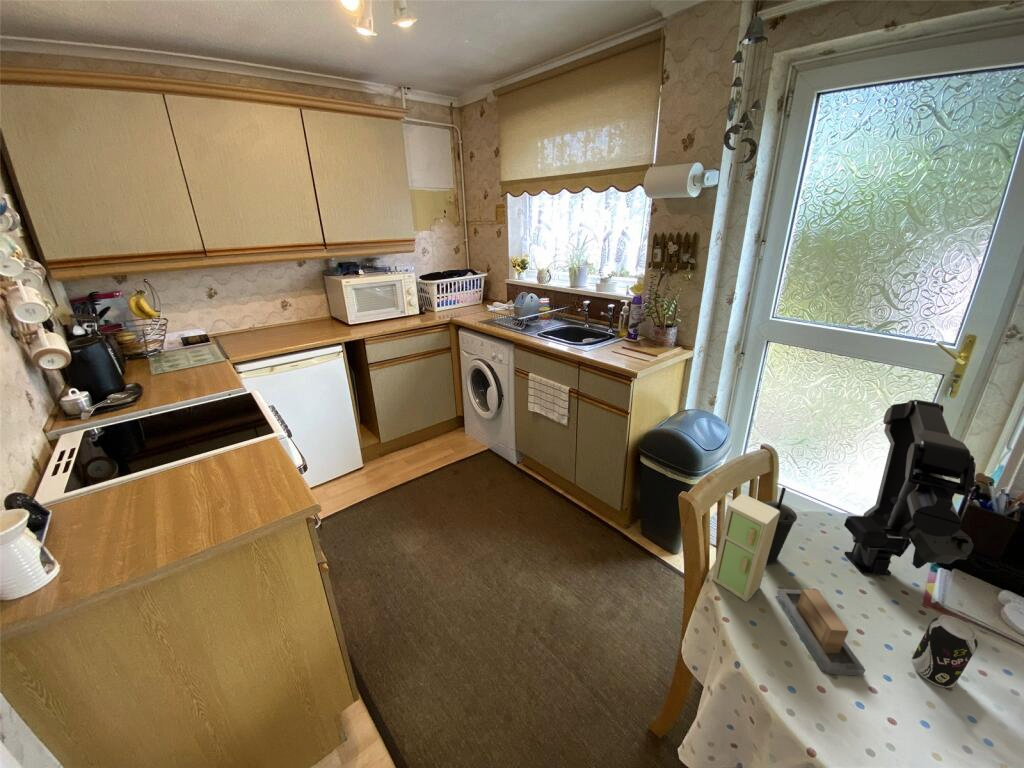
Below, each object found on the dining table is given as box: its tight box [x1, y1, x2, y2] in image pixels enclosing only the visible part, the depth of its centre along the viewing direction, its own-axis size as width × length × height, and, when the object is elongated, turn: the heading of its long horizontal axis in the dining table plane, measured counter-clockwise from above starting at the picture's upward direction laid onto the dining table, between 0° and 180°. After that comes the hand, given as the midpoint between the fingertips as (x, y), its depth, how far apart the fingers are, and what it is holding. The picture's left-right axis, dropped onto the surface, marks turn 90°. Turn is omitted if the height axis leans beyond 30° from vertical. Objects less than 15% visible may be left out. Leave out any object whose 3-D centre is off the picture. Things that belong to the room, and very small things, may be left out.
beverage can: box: [911, 614, 979, 689], centre depth 72 cm, size 6×6×12 cm
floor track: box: [775, 588, 866, 677], centre depth 81 cm, size 17×7×2 cm, turn 176°
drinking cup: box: [761, 486, 798, 565], centre depth 96 cm, size 8×8×20 cm
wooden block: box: [796, 588, 849, 653], centre depth 80 cm, size 9×3×6 cm, turn 176°
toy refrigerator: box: [711, 493, 780, 602], centre depth 89 cm, size 8×7×21 cm
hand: (890, 565), depth 82 cm, fingers open, 9 cm apart
